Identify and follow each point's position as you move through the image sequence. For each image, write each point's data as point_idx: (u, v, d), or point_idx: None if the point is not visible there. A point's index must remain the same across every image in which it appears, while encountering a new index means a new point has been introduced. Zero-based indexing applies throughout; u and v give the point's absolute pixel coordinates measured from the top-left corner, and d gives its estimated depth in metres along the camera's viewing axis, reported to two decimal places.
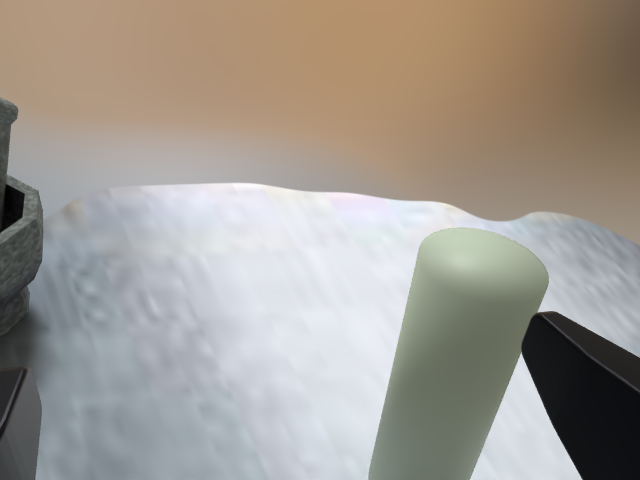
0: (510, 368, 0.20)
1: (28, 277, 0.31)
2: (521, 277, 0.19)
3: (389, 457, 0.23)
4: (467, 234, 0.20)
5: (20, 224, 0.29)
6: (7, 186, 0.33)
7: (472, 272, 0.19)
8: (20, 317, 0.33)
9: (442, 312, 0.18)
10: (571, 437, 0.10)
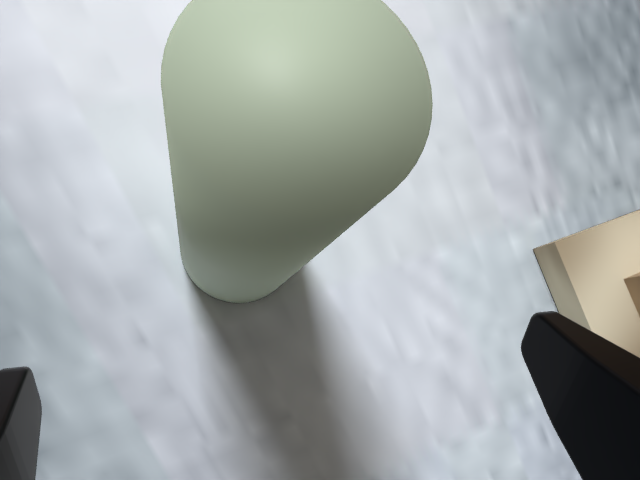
0: None
1: None
2: (377, 124, 0.09)
3: (191, 264, 0.17)
4: None
5: None
6: None
7: (275, 120, 0.09)
8: None
9: (214, 203, 0.09)
10: (571, 437, 0.10)
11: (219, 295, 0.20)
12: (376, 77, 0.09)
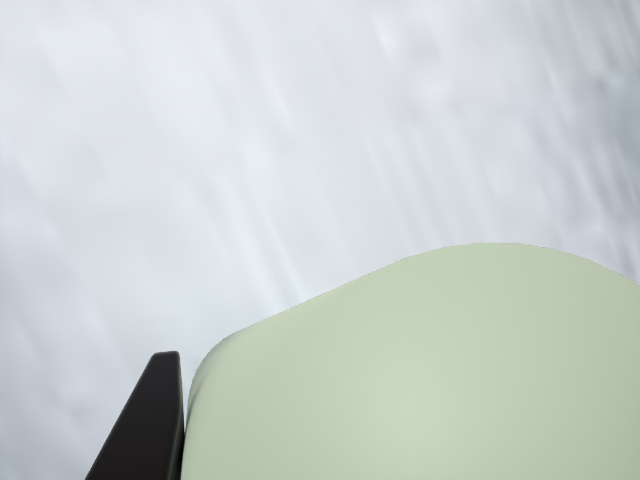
0: None
1: None
2: None
3: None
4: (466, 312, 0.04)
5: None
6: None
7: None
8: None
9: None
10: None
11: None
12: None
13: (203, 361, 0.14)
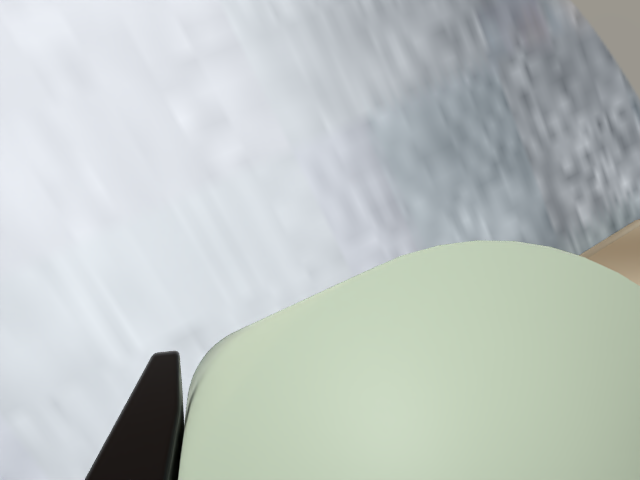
0: None
1: None
2: None
3: None
4: (463, 309, 0.04)
5: None
6: None
7: None
8: None
9: None
10: None
11: None
12: None
13: (202, 360, 0.14)
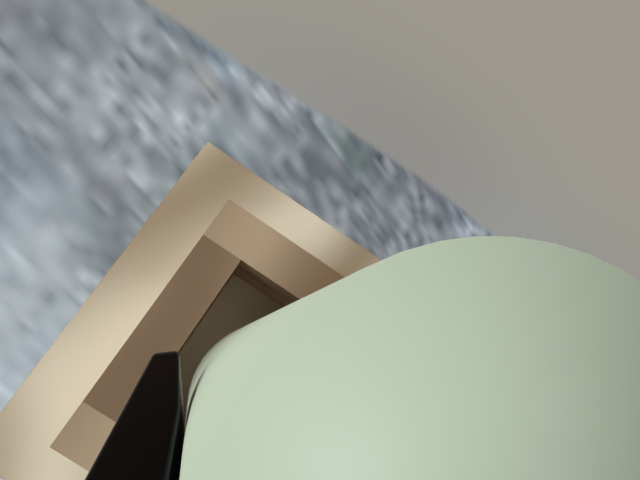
0: None
1: None
2: None
3: None
4: (464, 305, 0.04)
5: None
6: None
7: None
8: None
9: None
10: None
11: None
12: None
13: (203, 359, 0.14)
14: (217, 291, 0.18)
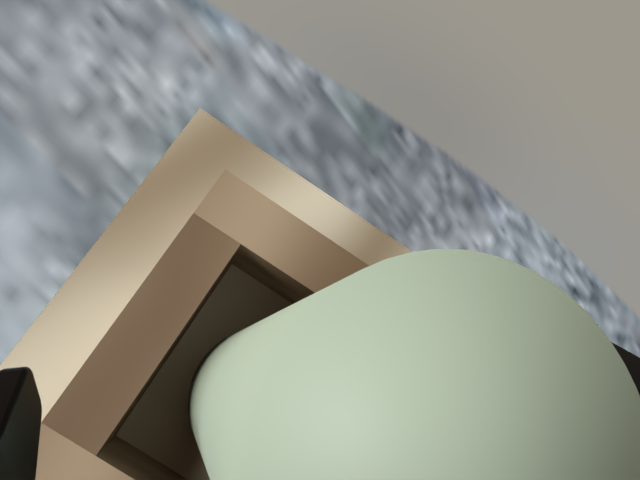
0: None
1: None
2: None
3: None
4: (427, 295, 0.06)
5: None
6: None
7: None
8: None
9: None
10: None
11: None
12: (575, 439, 0.06)
13: (203, 360, 0.16)
14: (211, 282, 0.14)
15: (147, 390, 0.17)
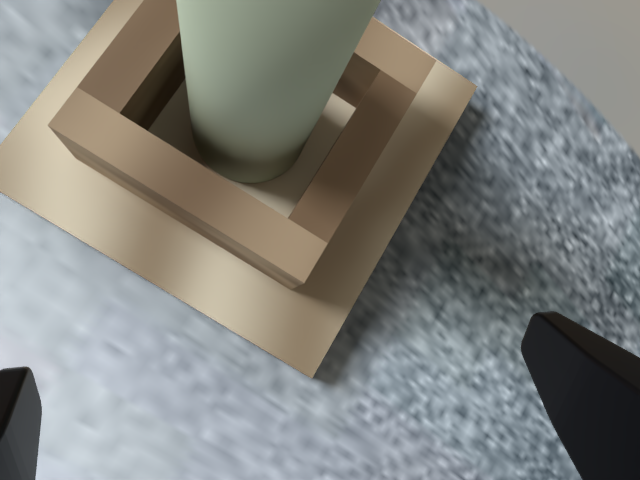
0: (350, 50, 0.12)
1: None
2: None
3: (202, 130, 0.18)
4: None
5: None
6: None
7: None
8: None
9: None
10: (571, 437, 0.10)
11: (231, 171, 0.20)
12: None
13: None
14: None
15: (159, 116, 0.21)
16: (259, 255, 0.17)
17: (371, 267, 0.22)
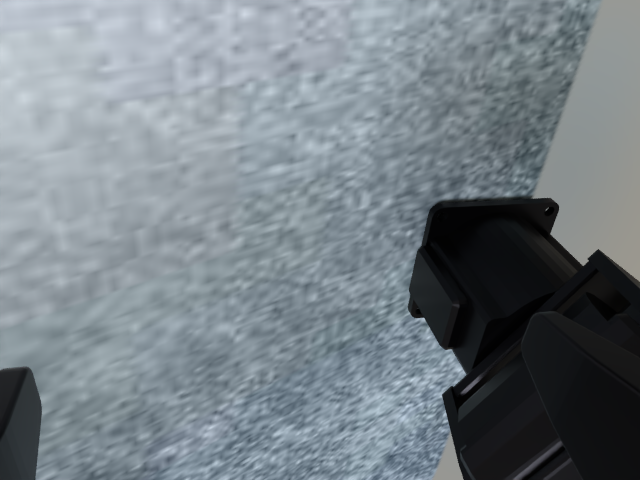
0: None
1: None
2: None
3: None
4: None
5: None
6: None
7: None
8: None
9: None
10: (571, 437, 0.10)
11: None
12: None
13: None
14: None
15: None
16: None
17: None
